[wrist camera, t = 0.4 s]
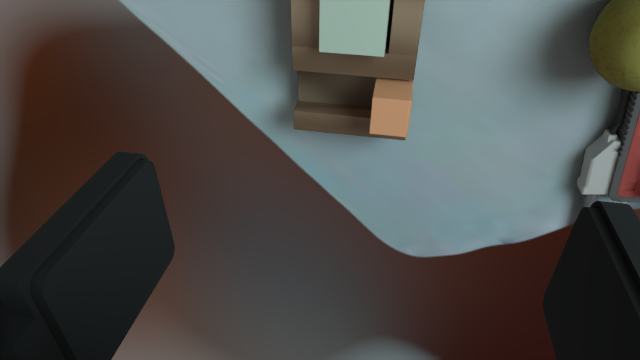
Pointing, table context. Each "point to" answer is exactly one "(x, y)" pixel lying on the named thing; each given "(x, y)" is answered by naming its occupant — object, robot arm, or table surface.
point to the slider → (391, 107)
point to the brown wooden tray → (348, 70)
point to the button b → (354, 26)
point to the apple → (617, 44)
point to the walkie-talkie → (614, 157)
